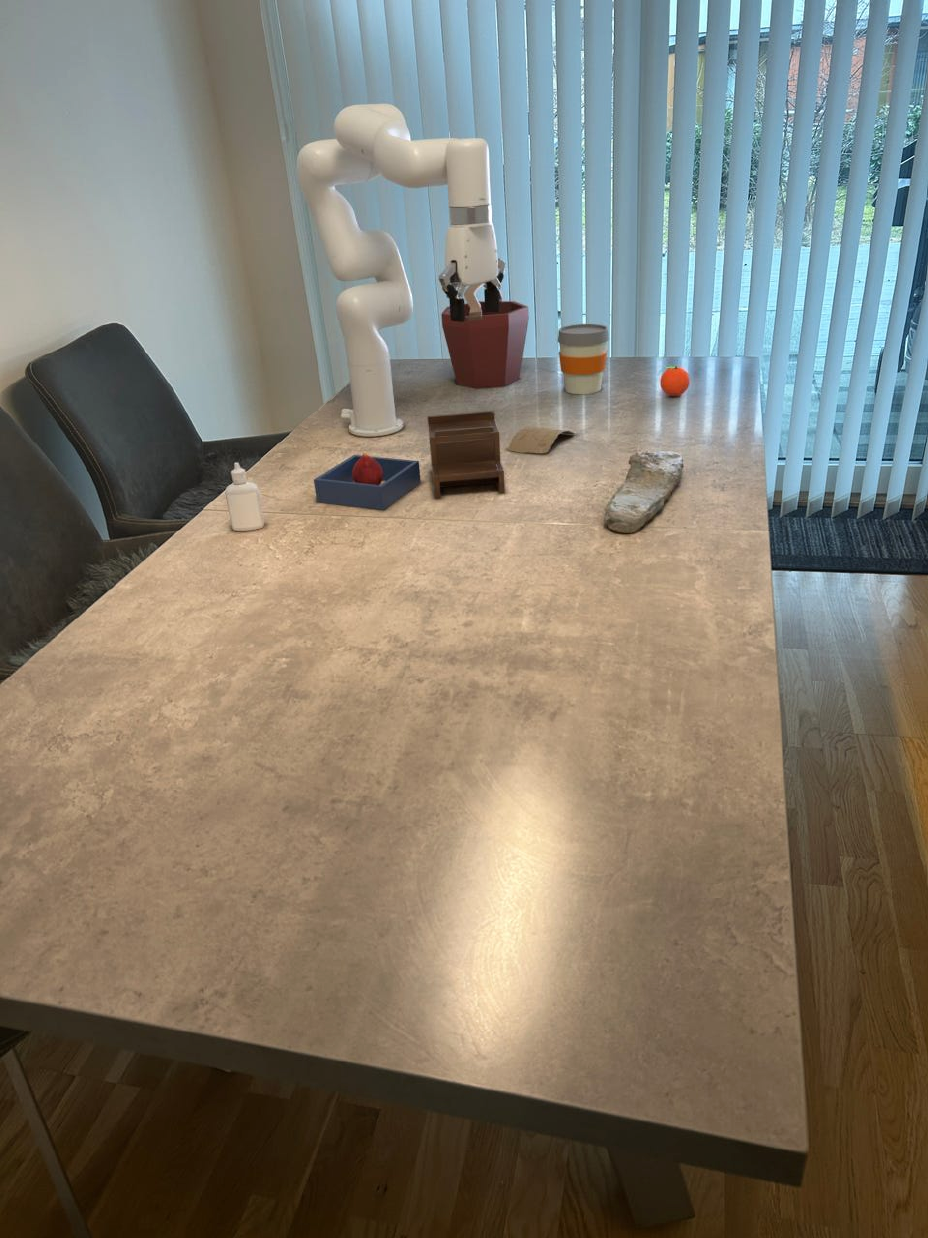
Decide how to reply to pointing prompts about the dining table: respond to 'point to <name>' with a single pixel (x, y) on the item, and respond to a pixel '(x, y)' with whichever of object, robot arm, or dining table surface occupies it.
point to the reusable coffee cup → (583, 356)
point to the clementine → (674, 381)
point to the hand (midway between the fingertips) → (475, 316)
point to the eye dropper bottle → (243, 502)
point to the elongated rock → (643, 490)
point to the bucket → (486, 341)
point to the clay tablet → (535, 439)
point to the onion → (367, 471)
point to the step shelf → (465, 450)
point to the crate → (343, 491)
